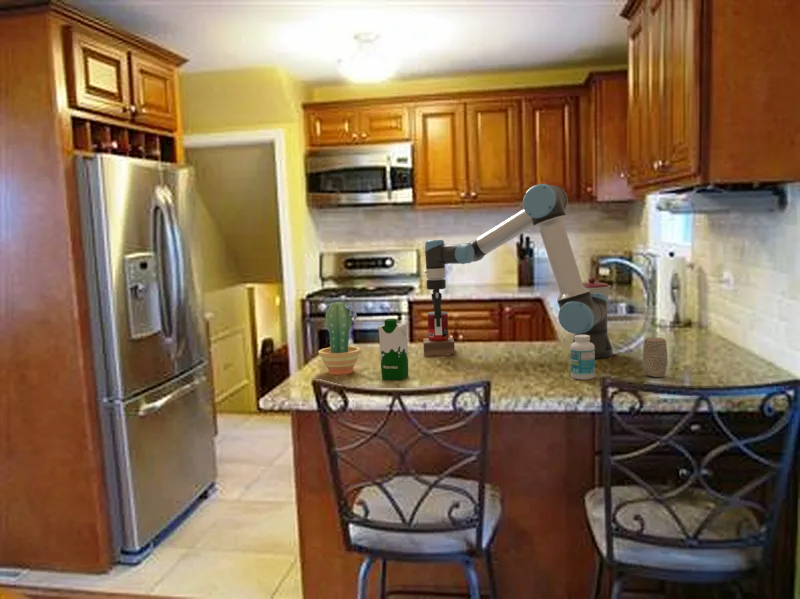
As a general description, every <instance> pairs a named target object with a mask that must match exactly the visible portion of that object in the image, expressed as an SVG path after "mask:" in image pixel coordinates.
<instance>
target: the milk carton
mask: <svg viewBox="0 0 800 599" xmlns="http://www.w3.org/2000/svg"><path fill="white" fill-rule="evenodd" d="M397 321H398V320H397V319H396V318H388V319H387V318H386V319H384V323H383V324H382V325H379V326H378V328H377V329H378V336H379V337H378V338H379V339H378V340H379V354H380V357H379V358H380V370H381V371H380V372H381V380H382V381H383V380H384V381H388V380H389V381H403V380H404V379H406V378H407V377H409V352H408V323H398V322H397Z"/></svg>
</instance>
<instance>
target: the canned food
mask: <svg viewBox="0 0 800 599" xmlns="http://www.w3.org/2000/svg"><path fill="white" fill-rule="evenodd" d="M441 315H442V317H441V318H442V335H435V319H433V316H435V312H434V311H430V312H429V311H428V312H427V329H428V330H427V332H428V333H427V334H428V337H427V338H429V340H430V341H446V340H448V337H449V316H448V312H447V311H442V310H441Z"/></svg>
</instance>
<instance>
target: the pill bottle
mask: <svg viewBox="0 0 800 599" xmlns="http://www.w3.org/2000/svg"><path fill="white" fill-rule="evenodd" d="M574 336H575V342H574V343H571V344H570V347H569V348H570V350H569V351H570V352H569V353H571V355H570V376H571V378H572V379H574V380H575V379H576V380H581V381H583V380H585V381H587V380H592V379H594V378H595V376H596V361H595V360H596V358H595V346H594V344H593V343H591V342H589V341H590V336H589V335H575V334H574Z"/></svg>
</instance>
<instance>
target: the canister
mask: <svg viewBox="0 0 800 599" xmlns="http://www.w3.org/2000/svg"><path fill="white" fill-rule="evenodd" d="M582 283H583V286H584V288H586V289H588V290H590V293H601V294H605V295H606V297H607V302H608V303H607V308H608V306H609V297H610V296H609V295H610V288H611V285H609V284H608V283H606V282H598V281H597V282H596V278H595V277H593V276H591V277H588V282H582Z"/></svg>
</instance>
